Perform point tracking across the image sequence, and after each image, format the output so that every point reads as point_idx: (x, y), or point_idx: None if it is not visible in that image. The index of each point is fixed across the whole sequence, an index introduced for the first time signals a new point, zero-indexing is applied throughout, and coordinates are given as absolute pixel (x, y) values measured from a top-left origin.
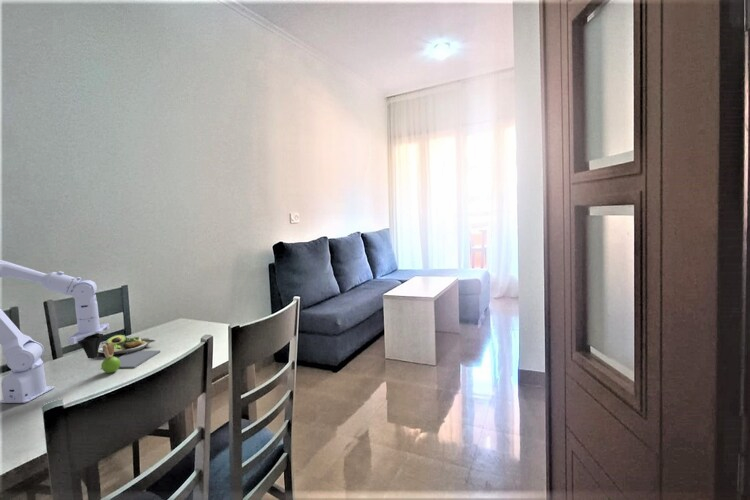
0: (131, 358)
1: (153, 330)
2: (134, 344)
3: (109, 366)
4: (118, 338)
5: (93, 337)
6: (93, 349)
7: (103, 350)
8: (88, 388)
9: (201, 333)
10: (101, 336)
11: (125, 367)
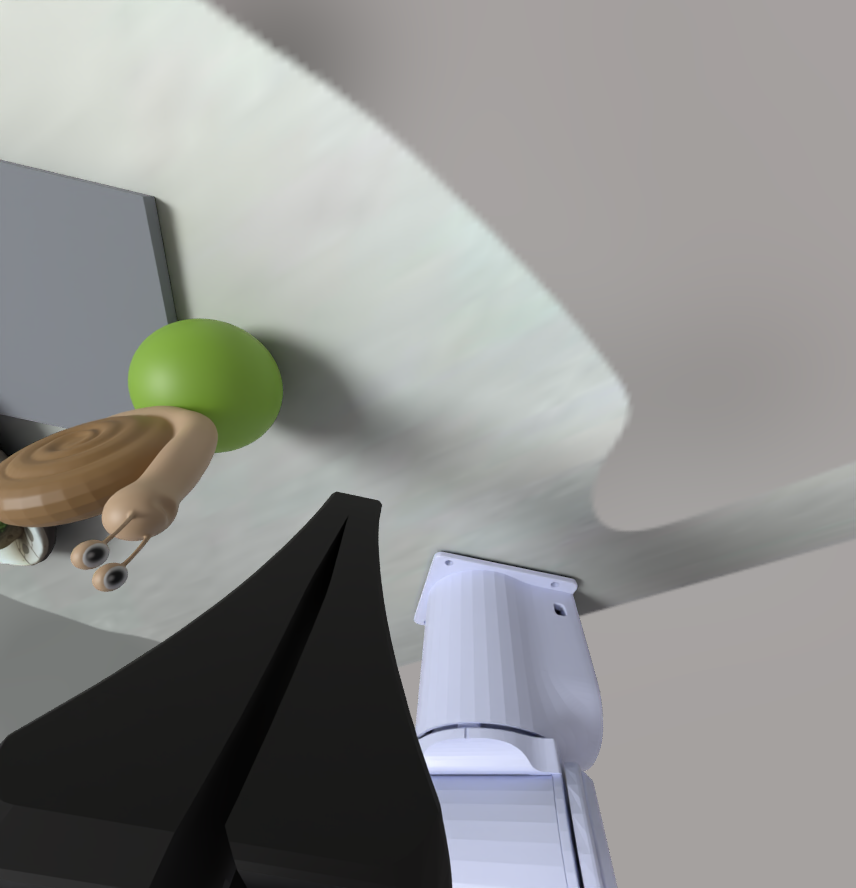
0: (14, 322)
1: None
2: None
3: (263, 374)
4: None
5: (201, 864)
6: (378, 592)
7: (14, 538)
8: (496, 390)
9: None
10: (62, 801)
11: (167, 289)
